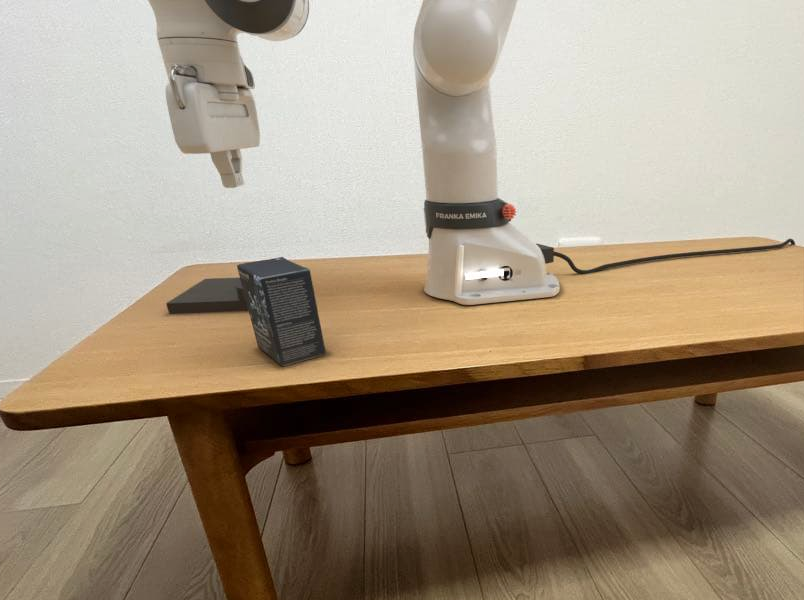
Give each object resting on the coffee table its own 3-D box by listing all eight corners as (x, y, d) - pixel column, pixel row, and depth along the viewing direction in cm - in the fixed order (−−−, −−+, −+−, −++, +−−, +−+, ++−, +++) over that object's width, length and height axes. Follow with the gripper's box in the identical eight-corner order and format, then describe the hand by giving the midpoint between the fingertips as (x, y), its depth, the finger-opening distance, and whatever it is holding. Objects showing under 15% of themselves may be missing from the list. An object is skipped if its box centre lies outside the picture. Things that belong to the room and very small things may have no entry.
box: (257, 349, 67) (235, 263, 62) (301, 338, 70) (284, 256, 65) (280, 368, 62) (258, 276, 57) (327, 355, 65) (311, 267, 60)
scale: (304, 284, 93) (300, 264, 92) (280, 310, 80) (275, 287, 79) (207, 288, 92) (201, 267, 90) (168, 315, 79) (160, 292, 77)
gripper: (197, 62, 59) (230, 195, 66) (257, 75, 77) (278, 179, 84) (136, 62, 59) (176, 196, 65) (211, 75, 77) (236, 180, 83)
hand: (234, 186), depth 75 cm, fingers closed
